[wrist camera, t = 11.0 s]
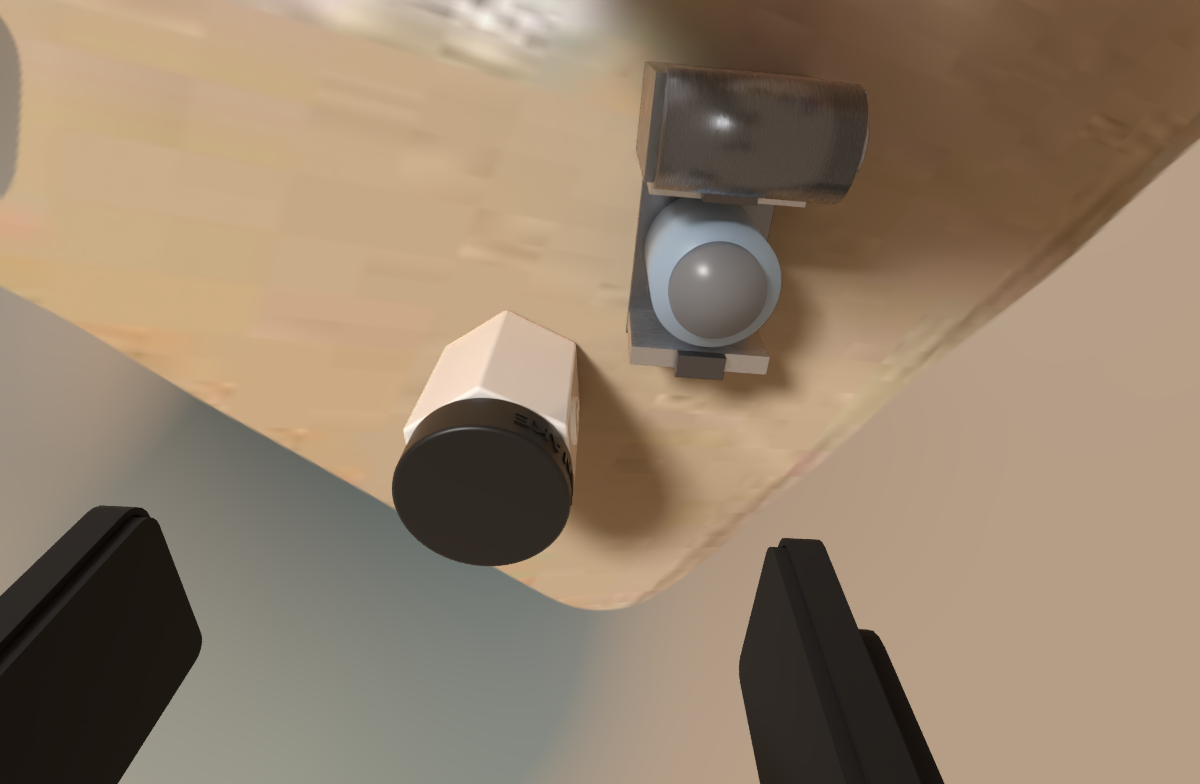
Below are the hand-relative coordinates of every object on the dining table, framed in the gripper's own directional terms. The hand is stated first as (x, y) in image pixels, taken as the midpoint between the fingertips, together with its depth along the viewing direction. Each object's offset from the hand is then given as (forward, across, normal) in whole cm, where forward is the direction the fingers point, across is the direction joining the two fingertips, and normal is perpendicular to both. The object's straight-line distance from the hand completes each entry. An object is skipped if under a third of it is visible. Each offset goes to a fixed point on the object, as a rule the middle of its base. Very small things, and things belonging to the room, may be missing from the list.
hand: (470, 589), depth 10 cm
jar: (+28, +3, +12) cm, 30 cm away
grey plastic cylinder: (+27, -7, +3) cm, 28 cm away
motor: (+28, -7, +1) cm, 29 cm away
